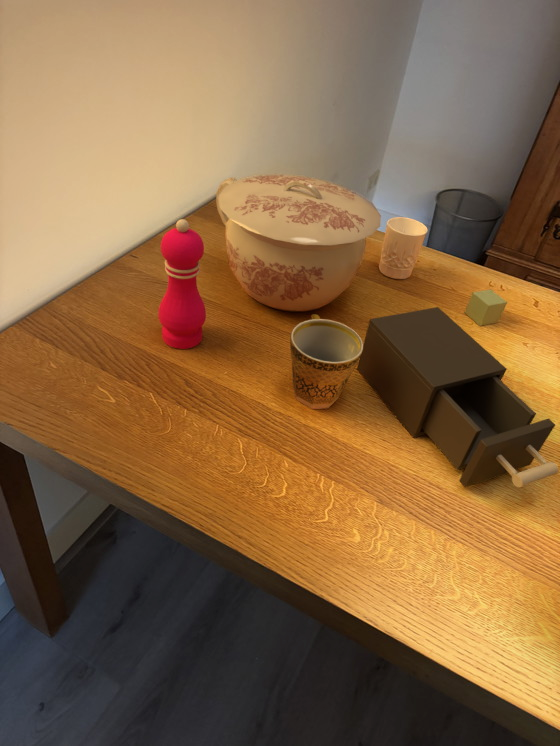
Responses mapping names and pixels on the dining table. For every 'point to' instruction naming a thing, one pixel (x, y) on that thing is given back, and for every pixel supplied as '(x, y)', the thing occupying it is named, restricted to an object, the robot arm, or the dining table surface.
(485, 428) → the dark brown drawer
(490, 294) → the block
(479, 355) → the drawer box
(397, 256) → the white cup
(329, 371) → the ceramic cup
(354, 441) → the dining table surface
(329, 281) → the chamber pot
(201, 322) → the pepper mill
